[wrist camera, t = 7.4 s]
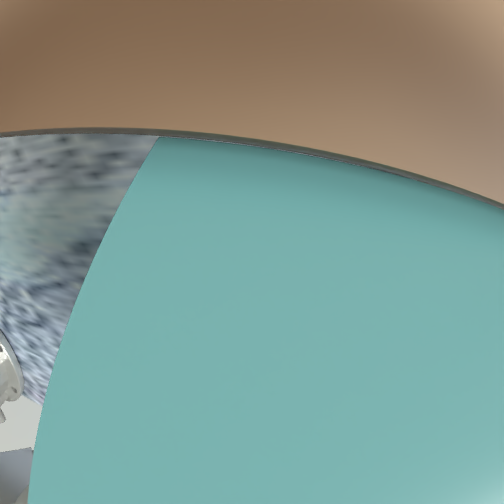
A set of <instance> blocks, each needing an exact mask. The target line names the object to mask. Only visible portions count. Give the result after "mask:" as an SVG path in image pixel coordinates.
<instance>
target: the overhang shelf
mask: <svg viewBox="0 0 504 504" xmlns="http://www.w3.org/2000/svg"><path fill="white" fill-rule="evenodd" d="M76 133H103V134H137V135H156V136H171V137H184V138H195V139H205V140H215V141H223V142H232V143H239V144H247V145H254V146H261V147H268V148H274V149H280V150H286V151H292V152H298V153H303V154H308V155H314V156H319V157H324V158H329V159H334V160H338V161H343V162H347V163H352V164H356V165H361V166H365V167H369V168H373V169H377V170H381V171H385V172H389V173H393V174H396V175H400V176H404V177H407V178H411V179H414V180H417V181H420V182H423V183H427V184H430V185H433V186H437V187H440V188H443V189H446V190H449V191H452V192H456V193H459V194H462V195H465V196H468V197H470V198H473V199H476V200H479V201H482V202H485V203H487V204H490V205H493V206H495V207H498V208H501V209H503V210H504V0H0V137H12V136H25V135H42V134H76Z"/></svg>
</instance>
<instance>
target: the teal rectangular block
mask: <svg viewBox="0 0 504 504" xmlns="http://www.w3.org/2000/svg"><path fill="white" fill-rule="evenodd" d="M27 504H504V210H503V209H501V208H498V207H495V206H493V205H490V204H487V203H485V202H482V201H479V200H476V199H473V198H470V197H468V196H465V195H462V194H459V193H456V192H452V191H449V190H446V189H443V188H440V187H437V186H433V185H430V184H427V183H423V182H420V181H416V180H413V179H409V178H405V177H402V176H398V175H394V174H390V173H387V172H383V171H379V170H375V169H370V168H366V167H362V166H358V165H353V164H349V163H344V162H339V161H335V160H330V159H325V158H320V157H315V156H309V155H304V154H298V153H293V152H287V151H281V150H274V149H268V148H261V147H254V146H247V145H240V144H232V143H223V142H214V141H205V140H194V139H183V138H170V137H159V138H158V139H157V141H156V143H155V144H154V146H153V147H152V149H151V151H150V152H149V154H148V156H147V157H146V159H145V161H144V162H143V164H142V166H141V167H140V169H139V171H138V173H137V174H136V176H135V178H134V180H133V181H132V183H131V185H130V187H129V189H128V190H127V192H126V194H125V196H124V198H123V200H122V202H121V204H120V205H119V207H118V209H117V211H116V213H115V215H114V217H113V219H112V221H111V223H110V225H109V227H108V229H107V231H106V233H105V235H104V237H103V239H102V242H101V244H100V246H99V248H98V250H97V252H96V255H95V257H94V259H93V261H92V263H91V266H90V268H89V270H88V273H87V275H86V277H85V280H84V282H83V285H82V287H81V290H80V292H79V295H78V297H77V300H76V302H75V305H74V307H73V310H72V313H71V315H70V318H69V321H68V324H67V327H66V329H65V332H64V335H63V338H62V341H61V344H60V347H59V350H58V354H57V357H56V360H55V363H54V367H53V370H52V374H51V377H50V381H49V384H48V388H47V392H46V396H45V400H44V404H43V408H42V413H41V417H40V422H39V426H38V431H37V436H36V442H35V447H34V453H33V460H32V466H31V474H30V482H29V492H28V503H27Z"/></svg>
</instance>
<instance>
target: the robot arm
mask: <svg viewBox="0 0 504 504" xmlns="http://www.w3.org/2000/svg"><path fill="white" fill-rule="evenodd" d="M23 390H24V379H23V374H22V371H21V367H20V365H19V362H18V360H17V358H16V355H15V354H14V352H13V350H12V348H11V346H10V344H9V343H8V341H7V340H6V338H5V336H4V335H3V333H2V332H1V331H0V406H1V405H2V404H3V403H4V401H5V400H6V401H15V400H17V399H18V398H19V397H20V396H21V394H22V393H23ZM5 420H6V419H5V416H4V414H3V412H2V410H1V409H0V423H3V422H5ZM33 453H34V450H32V449H31V447H30V448H25V449H19V450H13V451H6V452H0V504H27V503H28V492H29V482H30V474H31V466H32V460H33Z"/></svg>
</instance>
